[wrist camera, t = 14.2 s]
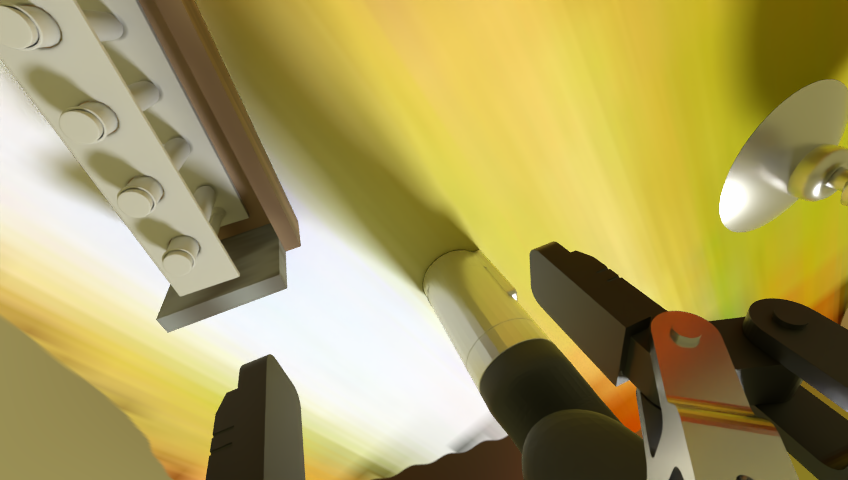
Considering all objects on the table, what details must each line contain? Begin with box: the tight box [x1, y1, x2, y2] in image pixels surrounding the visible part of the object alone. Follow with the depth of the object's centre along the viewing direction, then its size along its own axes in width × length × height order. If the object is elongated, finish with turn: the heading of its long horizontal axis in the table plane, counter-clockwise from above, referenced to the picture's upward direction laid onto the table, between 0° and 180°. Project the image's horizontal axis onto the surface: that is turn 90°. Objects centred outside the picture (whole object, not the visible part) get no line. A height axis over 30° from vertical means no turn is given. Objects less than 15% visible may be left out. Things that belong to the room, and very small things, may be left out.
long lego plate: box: [0, 0, 249, 297], centre depth 24 cm, size 25×4×13 cm, turn 11°
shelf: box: [21, 0, 301, 332], centre depth 25 cm, size 12×31×12 cm, turn 12°
